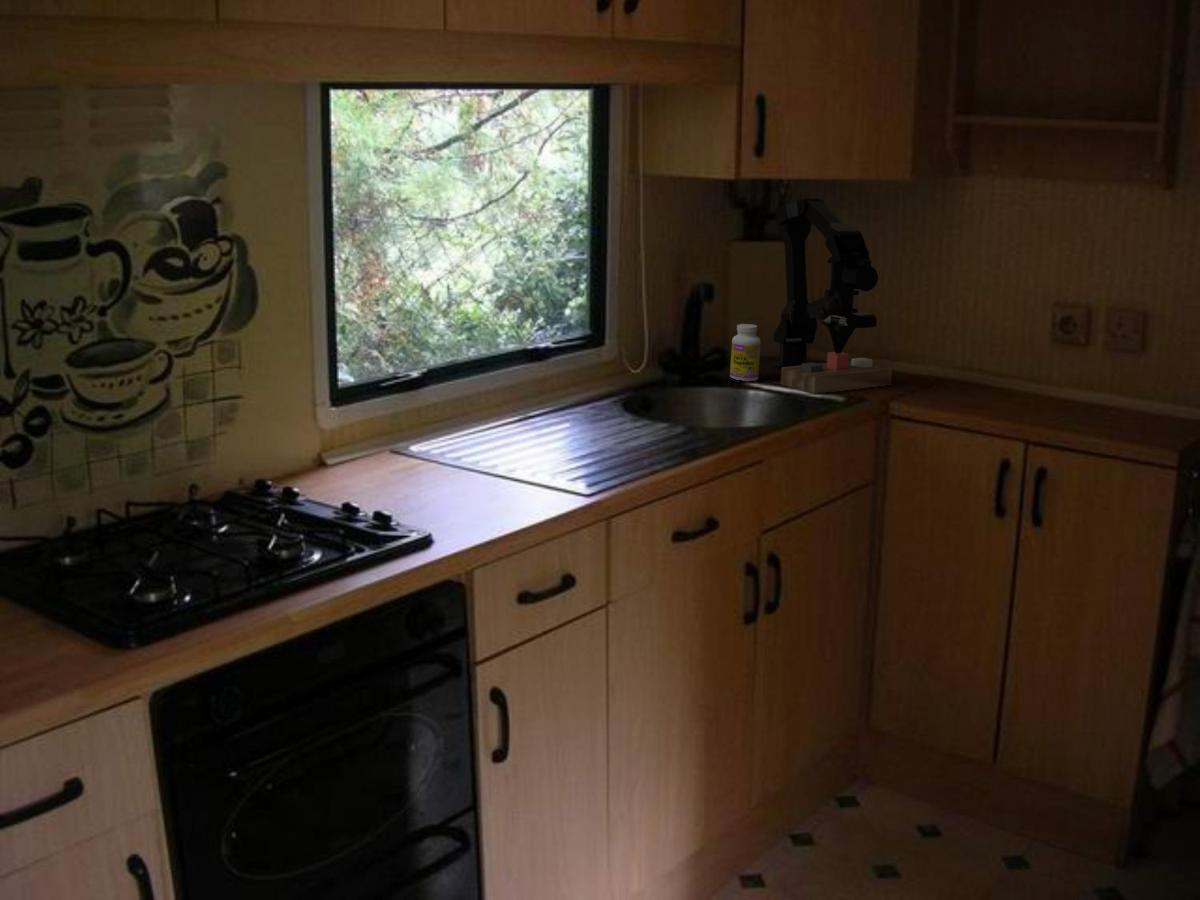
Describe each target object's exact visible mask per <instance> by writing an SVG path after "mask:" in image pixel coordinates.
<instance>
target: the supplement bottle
mask: <svg viewBox="0 0 1200 900" xmlns="http://www.w3.org/2000/svg"><path fill="white" fill-rule="evenodd" d="M736 331H737V334H736V335H734V336H733V337H732V339H731V352H730V353H731V354H730V368H729V378H730V377H731V378H733V379H736V380H742V381H754V382H757V380H758V379H759V375H760V374H759V372H760V359H761V358H760V357H761V342H762V341H761V339H760V337H759V336H757V332H758V325H755V324H751V323H740V324H737V325H736ZM731 378H730V379H731Z"/></svg>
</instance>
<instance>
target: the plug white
mask: <svg viewBox="0 0 1200 900" xmlns="http://www.w3.org/2000/svg"><path fill="white" fill-rule="evenodd" d="M851 360H852V363H851V365H852V366H856V367H860V368H864V367H872V364H873V359H870V358H867V357H866V358H865V357H856V358H853V357H852V358H851Z"/></svg>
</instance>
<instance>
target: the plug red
mask: <svg viewBox="0 0 1200 900" xmlns="http://www.w3.org/2000/svg"><path fill="white" fill-rule="evenodd" d="M849 355H850V354H849V353H847V352H843V351H842V352H841V353H835V351H827V355H826V356H827V357H826V363H827V368H829V369H833V370H844V369H848V361H849V357H850V356H849Z"/></svg>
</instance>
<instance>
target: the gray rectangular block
mask: <svg viewBox="0 0 1200 900" xmlns="http://www.w3.org/2000/svg"><path fill="white" fill-rule="evenodd" d="M801 370H802V371H805V372H809V373H815V372H823V365H821V363H817V362H806V363H802V368H801Z"/></svg>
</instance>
